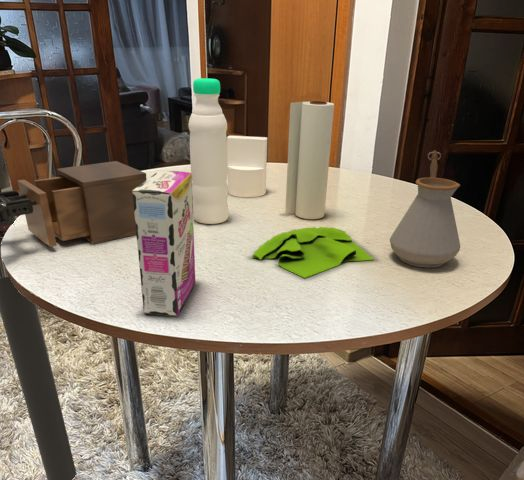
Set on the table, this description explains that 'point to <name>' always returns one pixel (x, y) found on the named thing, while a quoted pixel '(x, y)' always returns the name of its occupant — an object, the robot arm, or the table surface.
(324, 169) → the paper towel roll
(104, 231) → the cabinet
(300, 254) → the cloth
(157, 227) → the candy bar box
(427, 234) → the coffee pot
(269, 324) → the table surface
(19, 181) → the drawer
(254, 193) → the cylinder with rectangular tab
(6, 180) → the robot arm
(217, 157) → the water bottle
